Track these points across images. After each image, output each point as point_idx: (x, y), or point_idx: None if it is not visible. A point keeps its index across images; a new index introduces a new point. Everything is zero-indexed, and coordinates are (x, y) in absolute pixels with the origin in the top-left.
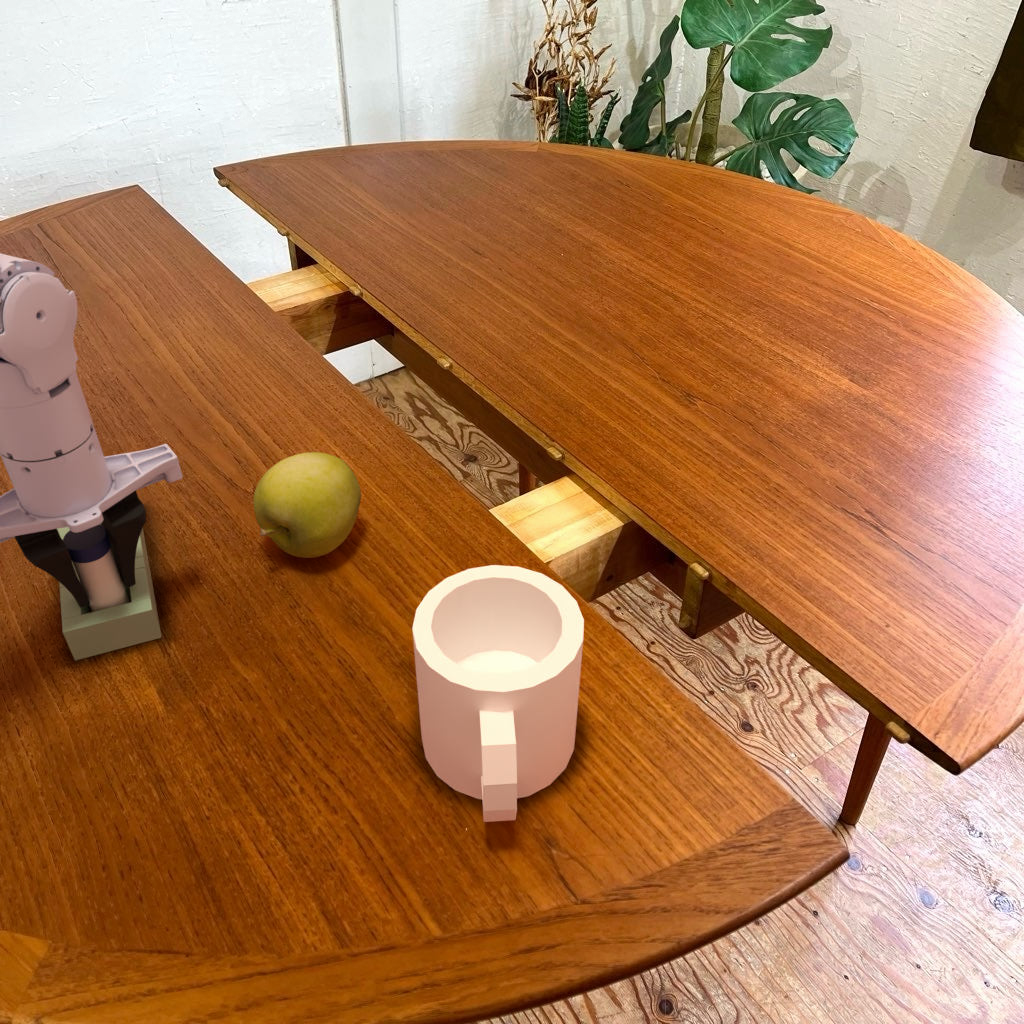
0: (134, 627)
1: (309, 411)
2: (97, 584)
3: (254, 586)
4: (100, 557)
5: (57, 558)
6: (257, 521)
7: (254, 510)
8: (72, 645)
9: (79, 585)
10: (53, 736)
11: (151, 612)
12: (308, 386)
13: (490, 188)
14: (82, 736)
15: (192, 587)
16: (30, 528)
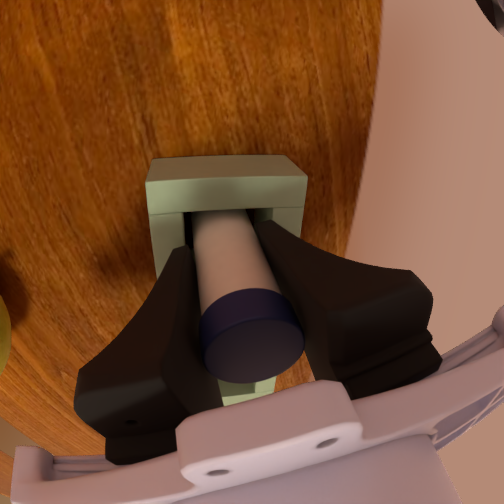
0: (186, 167)
1: (40, 426)
2: (239, 248)
3: (25, 229)
4: (224, 296)
5: (352, 289)
6: (2, 324)
7: (1, 342)
8: (290, 164)
9: (277, 243)
10: (330, 28)
11: (148, 178)
12: (51, 442)
13: (10, 490)
14: (293, 8)
15: (107, 250)
16: (456, 389)
